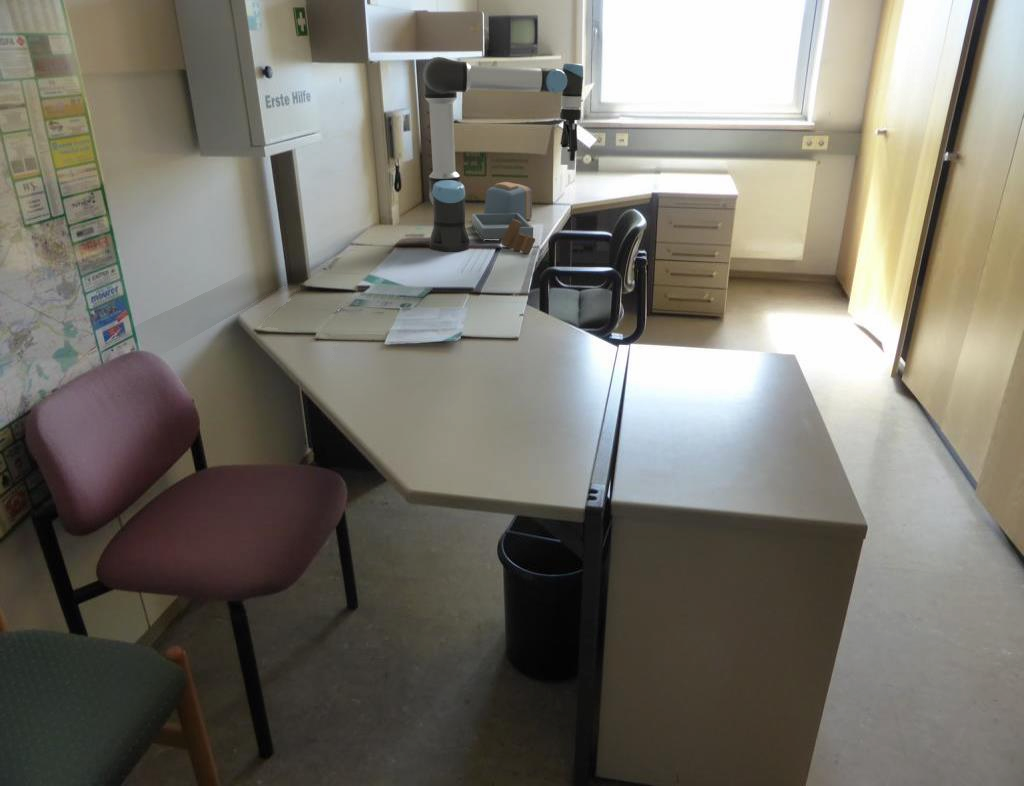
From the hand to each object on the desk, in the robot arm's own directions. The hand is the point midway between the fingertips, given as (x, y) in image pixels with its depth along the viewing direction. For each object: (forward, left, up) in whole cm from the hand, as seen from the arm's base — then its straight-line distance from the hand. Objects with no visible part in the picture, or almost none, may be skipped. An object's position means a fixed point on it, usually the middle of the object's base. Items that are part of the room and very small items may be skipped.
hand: (567, 167), depth 283 cm
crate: (-24, +10, -27) cm, 37 cm away
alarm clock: (-16, +37, -28) cm, 48 cm away
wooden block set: (-23, -17, -28) cm, 40 cm away
